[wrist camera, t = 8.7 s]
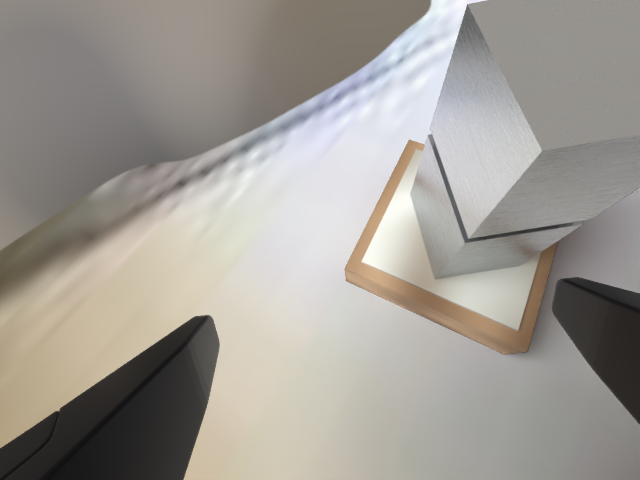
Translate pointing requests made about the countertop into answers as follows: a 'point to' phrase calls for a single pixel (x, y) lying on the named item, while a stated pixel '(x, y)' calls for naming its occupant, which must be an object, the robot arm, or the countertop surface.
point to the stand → (451, 292)
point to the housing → (529, 130)
